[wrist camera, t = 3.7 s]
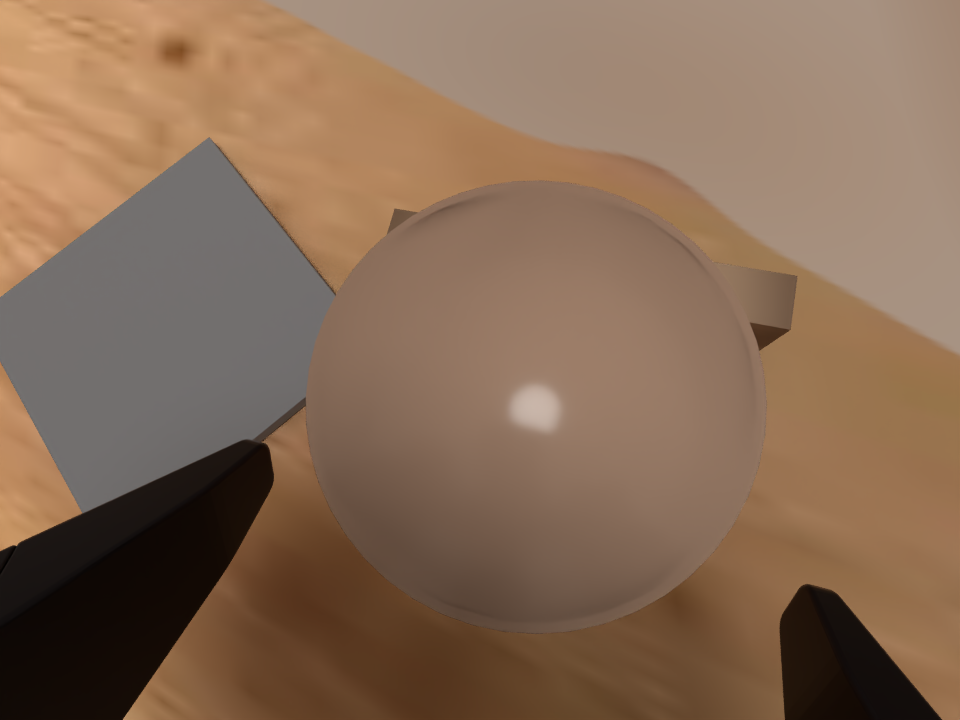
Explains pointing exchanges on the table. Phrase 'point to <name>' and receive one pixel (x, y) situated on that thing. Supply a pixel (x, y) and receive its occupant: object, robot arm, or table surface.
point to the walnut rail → (737, 294)
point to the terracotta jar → (536, 407)
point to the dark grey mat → (164, 331)
